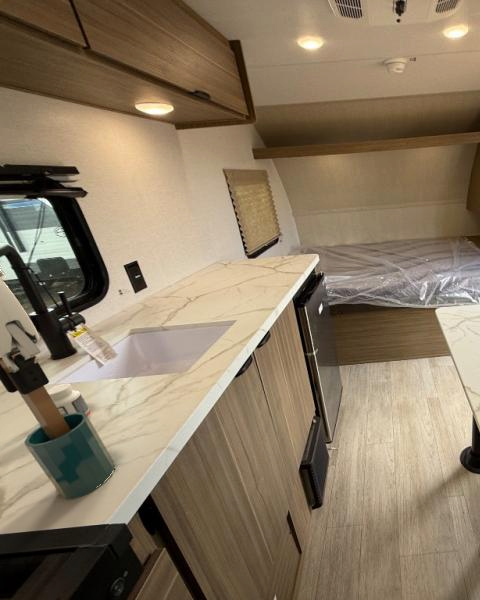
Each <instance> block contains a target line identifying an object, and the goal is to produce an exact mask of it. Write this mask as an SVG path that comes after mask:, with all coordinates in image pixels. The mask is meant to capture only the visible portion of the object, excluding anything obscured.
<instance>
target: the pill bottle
mask: <svg viewBox="0 0 480 600" xmlns="http://www.w3.org/2000/svg"><path fill="white" fill-rule="evenodd" d="M46 390H47V392H48V394H49V395H50V397H51V399H52V400H53V402H54V404H55V405H56V407H57V408H58V410H59V412H60V413H61V415H62V416H64V415H67V414H71V413H77V412H81V413H86V415H87V416H88V418H89V419H90V417H91V416H92V411H91V409H90V408H89V406H88V404H87V403H86V401H85V399H84V398H83V395H82V394H81V392H80V391H78V390H75V389H74V388H73V386H72V385H71V383H67V382H66V383H60V384H58V385H54V386H52V387H51V388H49V389H46Z"/></svg>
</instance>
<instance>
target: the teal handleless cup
mask: <svg viewBox="0 0 480 600" xmlns="http://www.w3.org/2000/svg"><path fill="white" fill-rule="evenodd" d="M62 417H63V418H64V420H65V422H66V423H67V425H68V426H69V428H70V430H71V429H73V430H71V431H70V432H68V433H67V434H65V435H63V436H61V437H59V438H57V439H54V440H51V441H49V440H50V439H49V438H48V436H47V434H46V433H45V431H44V430H43V428H42V427H41V425H40V426H39V427H37V428H35V429H34V430H33V431H31V433H30V434H28V435H27V437H26V438H25V440H24V445H25V447H26V449H27V450H28V451H29V453H30V454H31V456H32V457H33V458H34V460H35V461H36V463H37V464H38V466H39V467H40V468H41V470H42V471H43V472H44V474H45V475H46V477H47V478H48V479H49V481H50V482H51V484H52V486H53V487H54V488H55V489H56V491H57V492H58V493H59V494H60V495H61V497H62V498H63V499H67V500H71V499H77V498H80V497H83V496H86V495H87V494H89V492H90V493H92V492H93V491H95V490H96V489H95V488H96V487H97V486H99V485H100V484H102V483H103V482H104V481H105V480H106V479H107V478H108V477H109V476H110V474H111V473H112V471H113V470H114V467H115V465H116V463H115V461H114V459H113V458H112V456H111V454H110V452H109V451H108V449H107V447H106V445H105V444H104V442H103V440H102V438H101V437H100V435H99V434H98V432H97V430H96V428H95V427H94V425H93V423H92V421H91V420H90V417H89V418H88V416H87V415H86V413H81V412H77V413H71V414H67V415H64V416H62ZM102 485H103V484H102ZM94 489H95V490H94ZM92 490H93V491H92ZM91 491H92V492H91Z"/></svg>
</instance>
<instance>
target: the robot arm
mask: <svg viewBox="0 0 480 600" xmlns="http://www.w3.org/2000/svg"><path fill="white" fill-rule="evenodd" d="M7 278H8V277H7V276H6V274H5V272H4V270H3V268H2V267H1V266H0V359H3V361H4V362H5V364H6V365H7V367H8V368H9V370H10V371H11V372H9V373H8V375H9V376H10V378H11V379H12V381H13V382H14V384H15V386H16V387H17V389H18V390H19V392H20V393H21V394H25V395H26V394H29V393H30V392H32V391H34V390H36V389H38V388H40V387H42V386H44V387H45V386H46V385H48V384H49V383H50V380H49V378H48V376H47V375H46V373H45V372H44V369H43V368H42V367H41V365H40V363H39V358H38V355H39V354H41V353H42V351H41V350H40V348H39V347H38V346H37V345H36V344H38V343H39V341H40V334H39V332H38V330H37V328H36V326H35V325H34V323H33V321H32V320H31V318H30V317H29V315H28V313H27V312H26V310H25V309H24V307H23V306H22V304H21V303H20V301H19V300H18V298H17V297H16V296H15V295H14V293H13V292H12V291H11V289H10V288H9V286H8V285H7V284H6V282H5V281H4V280H6V279H7ZM13 346H15V347H13ZM17 353H18V355H16V356H15V358H14V359H13V357H12V355H14V354H17ZM8 375H7V373H6V372H5V370H4V369H3V367H2V366H1V364H0V382H1V384H2V385H3V387H4V388H5V390H6V391H7V393H11V394H14V393H16V392H18V390H17V389H16V387H15V386H14V384H13V382H12V381H11V379H10V378H9V376H8ZM19 392H18V393H19ZM20 393H19V394H20Z"/></svg>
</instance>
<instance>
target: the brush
mask: <svg viewBox="0 0 480 600" xmlns="http://www.w3.org/2000/svg"><path fill="white" fill-rule="evenodd" d="M18 354H19V353H17V354H14V355H12V357H13V359H14V358H15V356H16V355H18ZM0 364H1V366H2V367H3V369H4V370H5V372H6V373H7V375H8V373H9V372H11V371H10V370H9V368H8V367H7V365H6V364H5V362H4V361H3V359H0ZM8 376H9V375H8ZM9 378H10V376H9ZM10 379H11V378H10ZM11 381H12V379H11ZM12 382H13V381H12ZM13 384H14V382H13ZM14 386H15V384H14ZM15 387H16V386H15ZM16 389H17V387H16ZM17 390H18V389H17ZM47 390H48V389H46V387H45V385H44V386H42V387H40V388H38V389H36V390H34V391H32V392H30V393H29V394H26V395H25V394H21V393H20V392H19V390H18V391H17V392H18V393H19V395H20V396H21V398H22V400H23V401H24V403H25V404H26V406H27V407H28V408H29V410H30V412H31V413H32V415H33V416H34V418H35V419H36V420H37V422H38V424H39V425H40V426H41V427H42V428H43V430H44V431H45V433H46V434H47V436H48V438H49V439H50V440H49V441H51V440H54V439H57V438H59V437H61V436H63V435H65V434H67V433H68V432H70V431H71V430H73V429H71V430H70V428H69V426H68V425H67V423H66V422H65V420H64V418H63V417H62V415H61V413H60V412H59V410H58V408H57V407H56V405H55V404H54V402H53V400H52V399H51V397H50V395H49V394H48V392H47Z"/></svg>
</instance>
